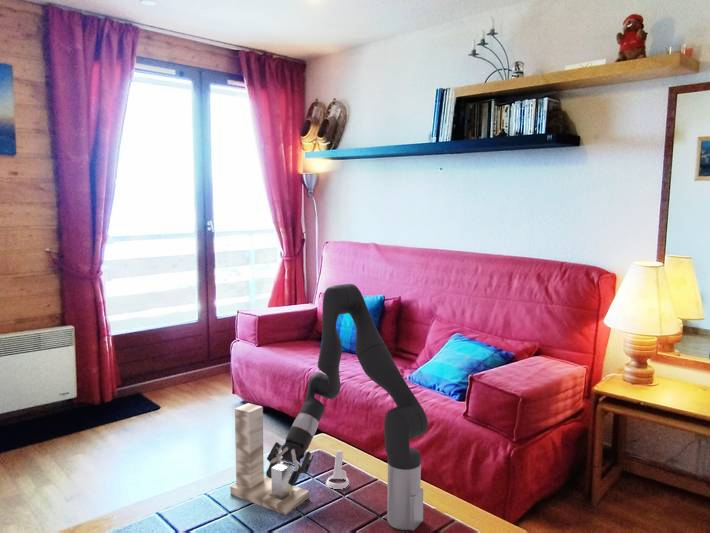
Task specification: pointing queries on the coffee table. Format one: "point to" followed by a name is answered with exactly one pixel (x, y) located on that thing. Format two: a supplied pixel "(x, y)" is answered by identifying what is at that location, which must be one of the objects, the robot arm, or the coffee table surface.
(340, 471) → the white vr controller
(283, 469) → the smooth gray rectangular block
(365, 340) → the robot arm
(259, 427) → the beam with square loop
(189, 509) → the coffee table surface
